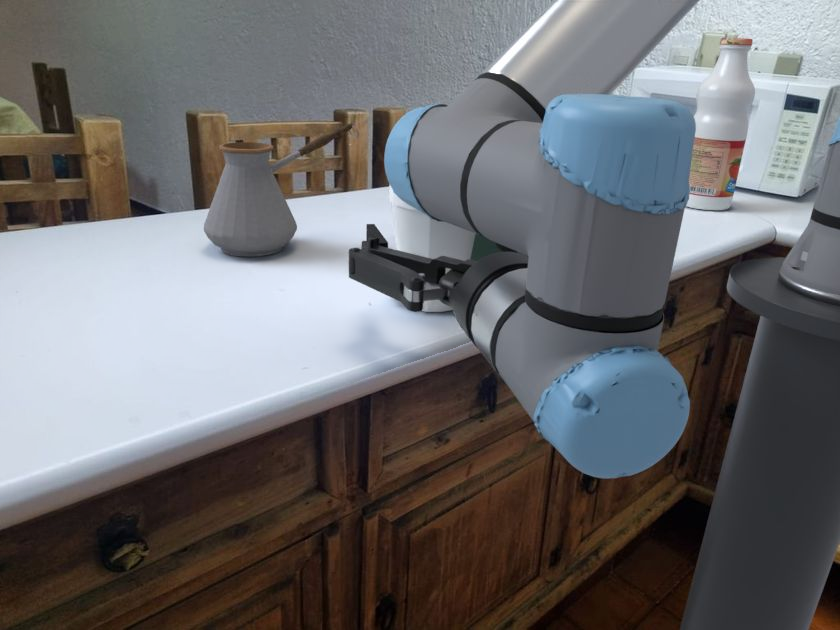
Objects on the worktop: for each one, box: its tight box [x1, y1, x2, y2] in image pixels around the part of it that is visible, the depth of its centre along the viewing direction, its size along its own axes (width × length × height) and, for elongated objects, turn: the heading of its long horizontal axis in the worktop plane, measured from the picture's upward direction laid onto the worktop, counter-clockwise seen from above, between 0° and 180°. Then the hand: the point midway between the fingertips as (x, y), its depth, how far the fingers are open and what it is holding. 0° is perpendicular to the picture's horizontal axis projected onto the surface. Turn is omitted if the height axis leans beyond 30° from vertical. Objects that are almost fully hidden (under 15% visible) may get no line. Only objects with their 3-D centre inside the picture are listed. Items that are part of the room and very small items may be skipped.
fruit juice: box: [685, 37, 756, 211], centre depth 114 cm, size 9×9×28 cm
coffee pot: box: [203, 123, 360, 258], centre depth 84 cm, size 21×12×15 cm, turn 127°
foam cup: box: [388, 183, 476, 313], centre depth 67 cm, size 10×9×13 cm
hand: (436, 235), depth 66 cm, fingers open, 13 cm apart
